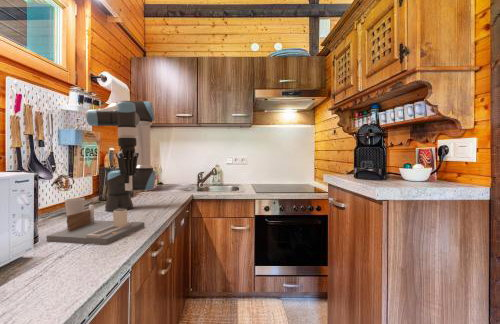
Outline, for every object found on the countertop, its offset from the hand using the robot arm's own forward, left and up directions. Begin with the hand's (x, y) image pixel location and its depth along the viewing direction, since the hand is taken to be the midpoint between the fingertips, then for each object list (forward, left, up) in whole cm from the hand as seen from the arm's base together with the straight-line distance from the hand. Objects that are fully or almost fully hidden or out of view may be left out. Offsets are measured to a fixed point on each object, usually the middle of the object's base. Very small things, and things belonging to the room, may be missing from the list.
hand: (128, 190), depth 124 cm
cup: (+1, -27, -17) cm, 32 cm away
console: (+11, -6, -16) cm, 21 cm away
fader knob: (+7, +1, -14) cm, 16 cm away
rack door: (+11, -17, -14) cm, 25 cm away
